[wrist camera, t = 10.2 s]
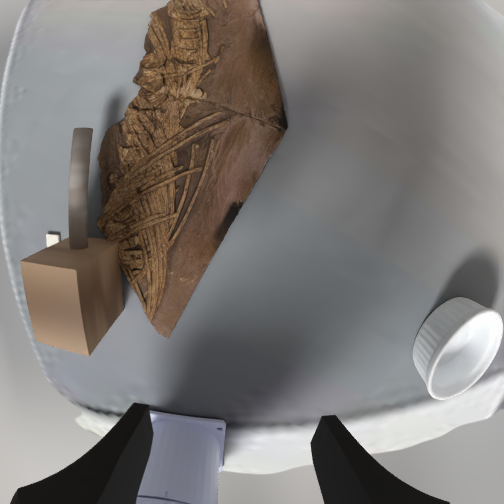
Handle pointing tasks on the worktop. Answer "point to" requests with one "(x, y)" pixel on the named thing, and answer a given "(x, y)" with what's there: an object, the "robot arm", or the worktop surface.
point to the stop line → (52, 239)
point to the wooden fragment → (188, 147)
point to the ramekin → (456, 346)
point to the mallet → (74, 273)
